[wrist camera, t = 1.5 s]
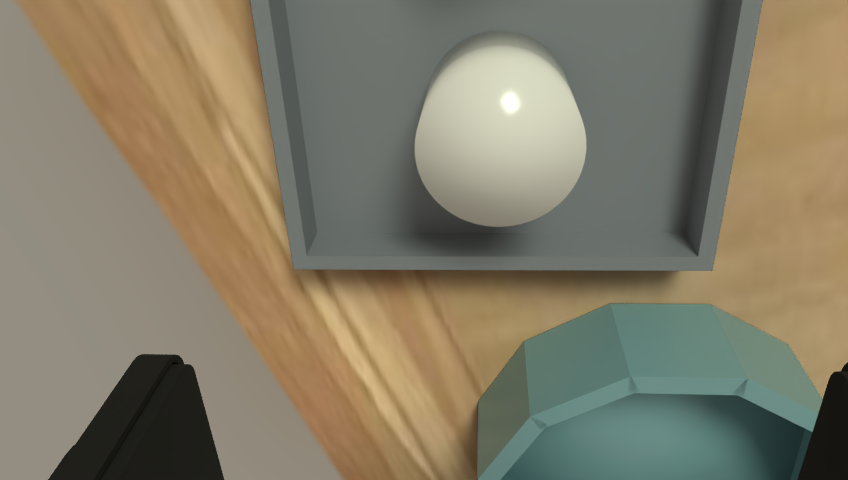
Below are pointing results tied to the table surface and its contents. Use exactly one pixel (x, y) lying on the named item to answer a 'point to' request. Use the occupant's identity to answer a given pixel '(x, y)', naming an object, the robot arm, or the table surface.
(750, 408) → the bowl
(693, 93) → the parts tray
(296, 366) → the table surface
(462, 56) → the pale stone
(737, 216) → the table surface
